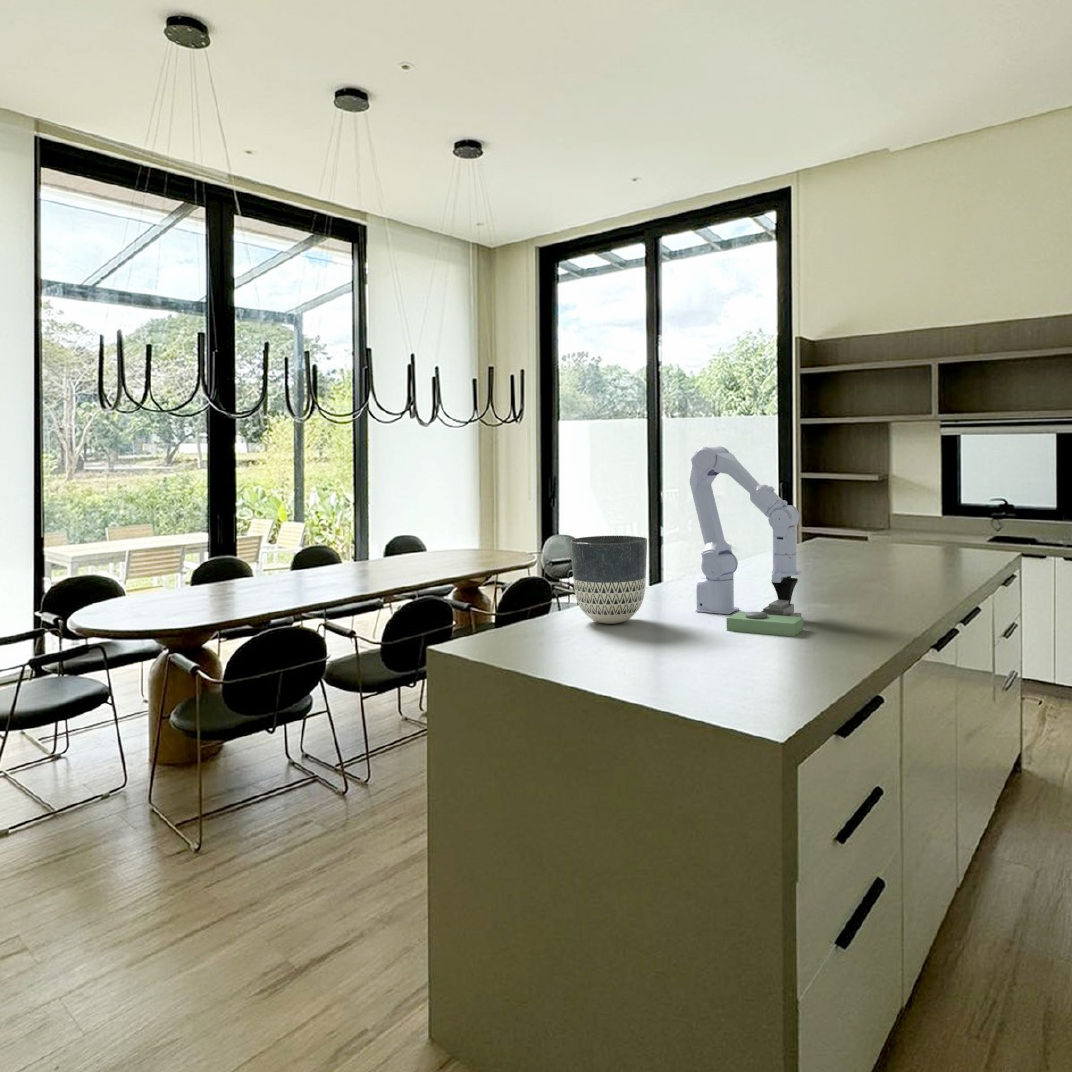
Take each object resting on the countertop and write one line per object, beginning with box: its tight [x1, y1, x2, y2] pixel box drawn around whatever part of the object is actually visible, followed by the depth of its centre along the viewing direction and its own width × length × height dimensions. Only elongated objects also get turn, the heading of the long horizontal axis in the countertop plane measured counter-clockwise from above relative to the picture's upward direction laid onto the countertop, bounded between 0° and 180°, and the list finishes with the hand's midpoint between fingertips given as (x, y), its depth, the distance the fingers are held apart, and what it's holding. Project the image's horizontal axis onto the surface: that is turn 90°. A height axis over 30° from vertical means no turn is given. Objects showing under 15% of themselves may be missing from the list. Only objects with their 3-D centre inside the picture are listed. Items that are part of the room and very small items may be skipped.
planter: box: [569, 535, 648, 625], centre depth 212 cm, size 20×20×21 cm
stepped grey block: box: [762, 599, 795, 616], centre depth 206 cm, size 5×9×5 cm, turn 147°
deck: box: [726, 610, 804, 637], centre depth 202 cm, size 16×18×4 cm
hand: (784, 606), depth 211 cm, fingers closed
